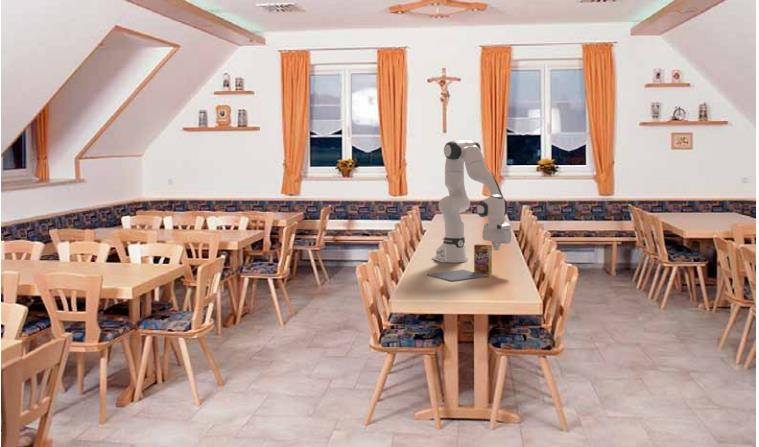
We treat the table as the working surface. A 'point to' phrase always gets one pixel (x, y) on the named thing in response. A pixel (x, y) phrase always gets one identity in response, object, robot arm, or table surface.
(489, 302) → the table surface
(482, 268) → the candy box
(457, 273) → the mat
